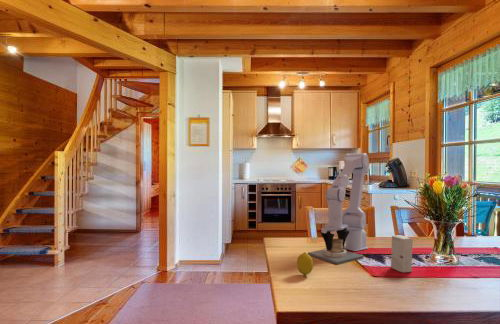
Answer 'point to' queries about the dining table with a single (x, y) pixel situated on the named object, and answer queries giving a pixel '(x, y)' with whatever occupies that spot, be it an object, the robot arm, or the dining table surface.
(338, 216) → the robot arm
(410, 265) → the skincare box
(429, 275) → the dining table surface
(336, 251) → the cup
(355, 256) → the collar board
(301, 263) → the lemon
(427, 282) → the dining table surface
